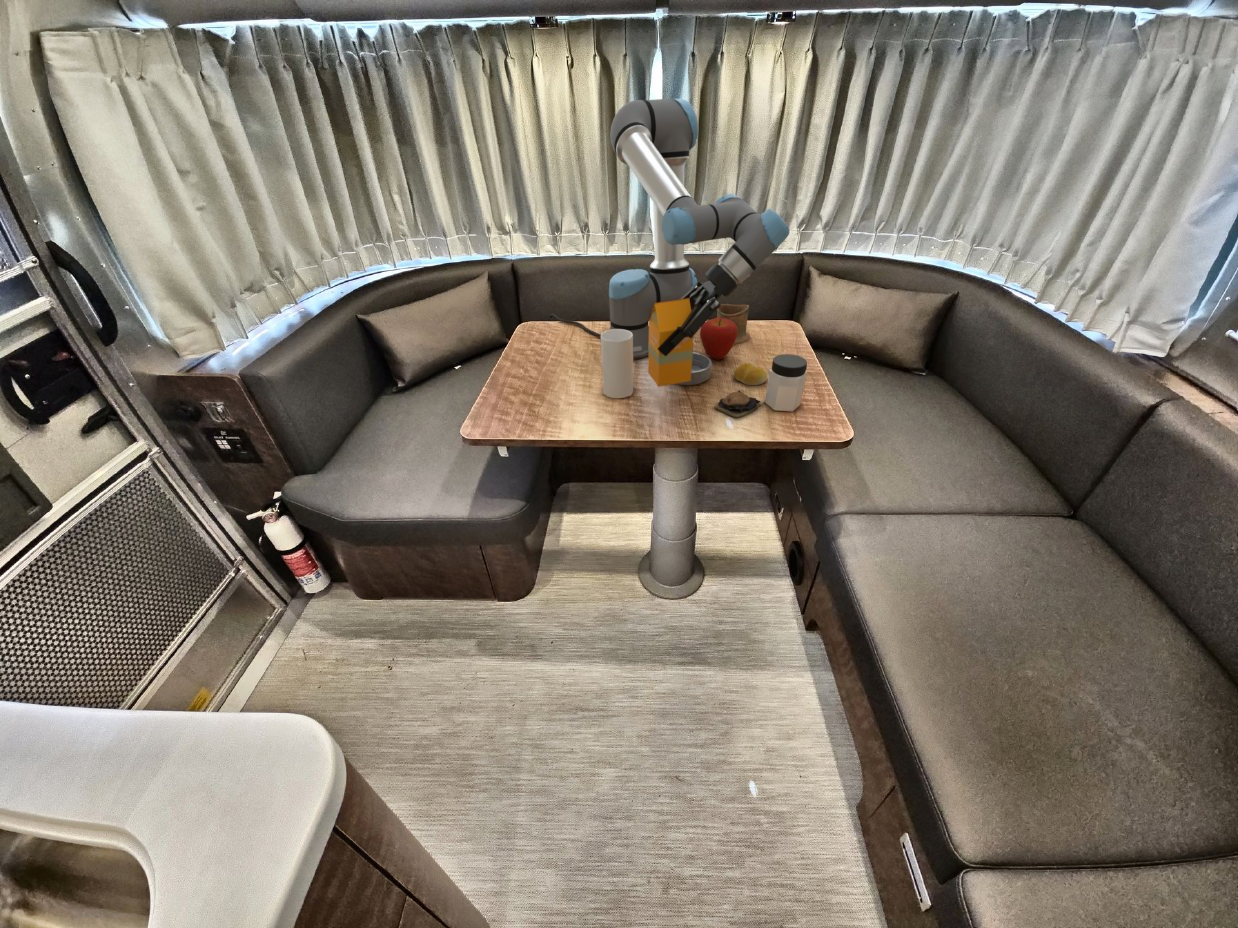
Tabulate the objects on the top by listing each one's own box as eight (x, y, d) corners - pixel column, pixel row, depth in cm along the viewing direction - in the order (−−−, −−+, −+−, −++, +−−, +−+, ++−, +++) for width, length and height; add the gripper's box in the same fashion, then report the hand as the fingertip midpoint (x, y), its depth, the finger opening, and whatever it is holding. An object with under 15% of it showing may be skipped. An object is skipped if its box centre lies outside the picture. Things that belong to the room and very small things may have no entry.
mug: (699, 326, 182) (702, 291, 175) (751, 332, 176) (756, 296, 169) (689, 338, 173) (691, 302, 166) (743, 346, 167) (748, 308, 160)
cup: (611, 401, 140) (609, 343, 131) (598, 388, 146) (595, 332, 137) (638, 393, 143) (638, 337, 134) (624, 381, 149) (623, 326, 140)
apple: (701, 348, 166) (704, 310, 159) (736, 351, 164) (740, 313, 157) (695, 363, 158) (698, 324, 150) (732, 367, 155) (736, 327, 148)
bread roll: (754, 389, 143) (756, 375, 141) (728, 378, 149) (729, 365, 147) (772, 379, 148) (775, 366, 145) (747, 369, 153) (748, 356, 151)
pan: (651, 373, 153) (651, 360, 151) (687, 360, 159) (688, 347, 157) (683, 391, 144) (684, 377, 141) (721, 376, 150) (722, 363, 148)
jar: (806, 408, 134) (815, 365, 127) (778, 415, 132) (786, 370, 125) (785, 393, 141) (793, 351, 134) (759, 399, 139) (765, 356, 132)
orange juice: (691, 381, 133) (696, 304, 121) (658, 387, 132) (660, 309, 119) (679, 367, 139) (683, 292, 127) (647, 372, 137) (648, 297, 125)
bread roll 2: (737, 420, 131) (739, 407, 128) (711, 407, 136) (712, 395, 134) (764, 405, 136) (766, 393, 134) (738, 394, 141) (739, 381, 139)
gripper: (753, 299, 115) (677, 373, 123) (724, 272, 132) (660, 338, 140) (731, 275, 111) (655, 353, 119) (705, 250, 128) (640, 320, 136)
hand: (657, 345), depth 129 cm, fingers closed on orange juice, 8 cm apart
